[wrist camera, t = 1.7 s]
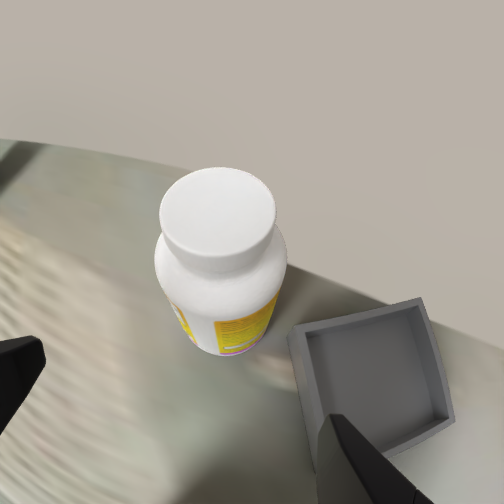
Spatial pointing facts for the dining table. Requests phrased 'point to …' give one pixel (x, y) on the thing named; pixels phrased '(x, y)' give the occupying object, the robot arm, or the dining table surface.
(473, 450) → the dining table surface
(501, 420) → the dining table surface
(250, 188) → the supplement bottle
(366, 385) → the tray
